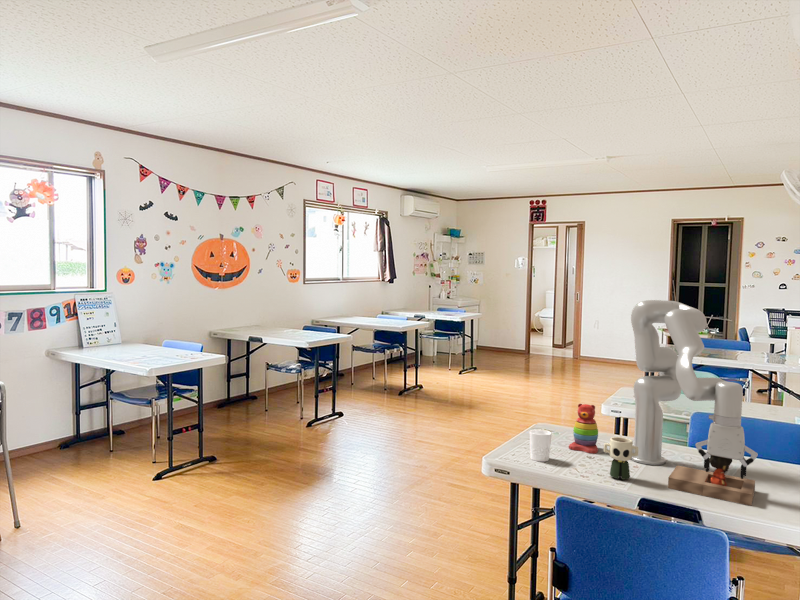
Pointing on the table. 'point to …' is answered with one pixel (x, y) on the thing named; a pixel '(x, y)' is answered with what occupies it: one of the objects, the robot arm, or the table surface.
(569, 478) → the table surface
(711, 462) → the figurine
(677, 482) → the jig
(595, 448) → the stacking bear
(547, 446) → the white cup
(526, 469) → the table surface
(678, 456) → the table surface
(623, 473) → the character mug
